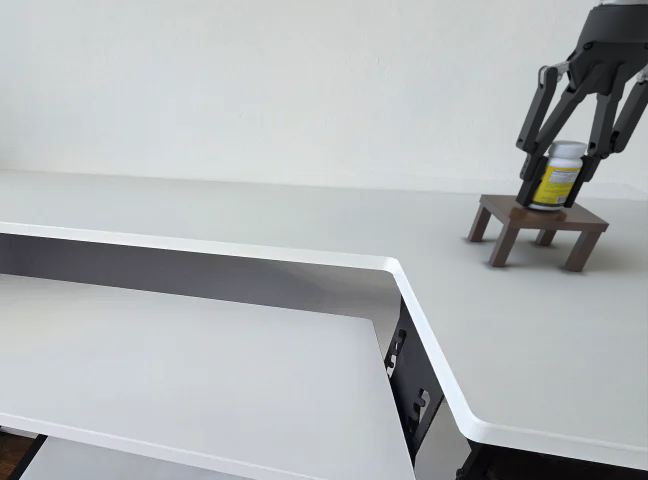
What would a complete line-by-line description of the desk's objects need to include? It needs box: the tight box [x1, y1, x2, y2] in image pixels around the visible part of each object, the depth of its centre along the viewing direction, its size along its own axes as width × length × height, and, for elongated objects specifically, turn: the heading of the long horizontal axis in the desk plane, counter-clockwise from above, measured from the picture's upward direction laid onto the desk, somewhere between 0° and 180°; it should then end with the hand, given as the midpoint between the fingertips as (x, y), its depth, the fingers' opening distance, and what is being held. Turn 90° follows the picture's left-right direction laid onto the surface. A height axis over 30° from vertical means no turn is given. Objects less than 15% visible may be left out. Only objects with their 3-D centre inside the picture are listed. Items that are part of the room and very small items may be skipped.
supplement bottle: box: [528, 139, 588, 210], centre depth 69 cm, size 5×5×8 cm
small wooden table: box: [467, 193, 610, 272], centre depth 73 cm, size 12×12×7 cm
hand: (542, 203), depth 71 cm, fingers closed on supplement bottle, 5 cm apart
